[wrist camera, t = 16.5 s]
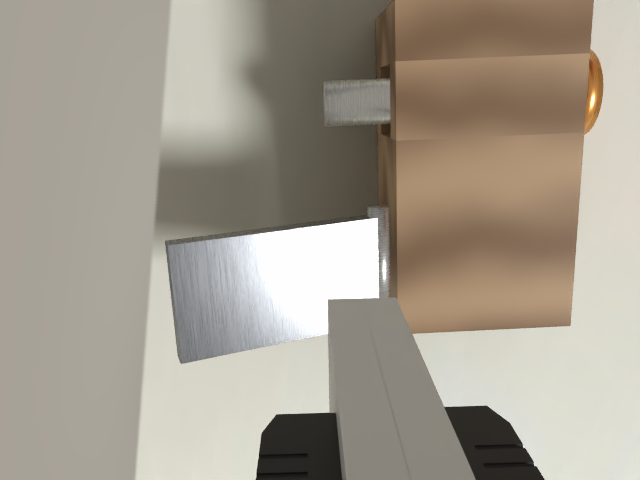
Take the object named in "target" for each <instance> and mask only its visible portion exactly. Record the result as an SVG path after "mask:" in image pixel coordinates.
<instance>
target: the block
mask: <svg viewBox="0 0 640 480" xmlns="http://www.w3.org/2000/svg"><path fill="white" fill-rule="evenodd" d="M593 2H594V0H393V1H392V2H391V3H390V4H389V6H388V7H387V8H386V9H385V10H384V11H383V12H382V13H381V14H380V16H379V17H378V18H377V19H376V20H375V24H376V79H383V78H390V124H377V147H378V205H388V206H390V291H391V297H396V298H397V301H398V303H399V305H400V308H401V310H402V312H403V314H404V317H405V319H406V321H407V324H408V326H409V328H410V330H411V333H412V334H415V333H435V332H455V331H476V330H496V329H516V328H536V327H557V326H570V324H571V310H572V296H573V282H574V268H575V254H576V240H577V226H578V212H579V198H580V184H581V170H582V156H583V142H584V128H585V114H586V100H587V86H588V72H589V58H590V44H591V30H592V16H593Z"/></svg>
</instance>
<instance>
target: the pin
mask: <svg viewBox="0 0 640 480" xmlns="http://www.w3.org/2000/svg"><path fill="white" fill-rule="evenodd" d="M602 96H603V75H602V69H601V65H600V62H599V59H598V57H597V56H596V54H595V53H594V52H593V51H592V50H590V58H589V72H588V86H587V100H586V114H585V128H584V135H585V134H586V133H587V132H589V131H590V129H591V128H592V127H593V125H594V123H595V121H596V119H597V117H598V114H599V111H600V107H601V103H602ZM323 103H324V122H325V127H326V126H349V125H372V124H390V78H383V79H359V80H335V81H323Z"/></svg>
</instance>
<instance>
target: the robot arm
mask: <svg viewBox="0 0 640 480" xmlns="http://www.w3.org/2000/svg"><path fill="white" fill-rule="evenodd" d="M328 349H329V405H330V413H310V414H278V415H276V416H275V417H274V418H273V420H272V421H271V422H270V423H269V425H268V426H267V427H266V428H265V430H264V431H263V432H262V435H261V443H260V451H259V459H258V466H257V478H256V480H544V478H543V476H542V475H541V473H540V471H539V470H538V468H537V467H536V466H534V462H533V460H532V458H531V457H530V455H529V453H528V452H527V450H526V449H525V448H523V444H522V442H521V440H520V439H519V437H518V436H517V434H516V432H515V431H514V429H513V427H512V426H511V424H510V423H509V422H508V421H506V420H505V419H504V418H502V417H501V416H500V415H498V414H497V413H496V412H494V411H493V410H492V409H490V408H489V407H488V406H464V407H444V406H443V403H442V401H441V399H440V397H439V394H438V392H437V390H436V387H435V385H434V383H433V381H432V378H431V376H430V374H429V371H428V369H427V367H426V365H425V362H424V360H423V358H422V355H421V353H420V351H419V349H418V346H417V344H416V342H415V340H414V337H413V335H412V333H411V330H410V328H409V326H408V324H407V321H406V319H405V317H404V314H403V312H402V310H401V308H400V305H399V303H398V301H397V298H396V297H390V298H354V299H328Z"/></svg>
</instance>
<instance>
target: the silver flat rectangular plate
mask: <svg viewBox="0 0 640 480" xmlns="http://www.w3.org/2000/svg"><path fill="white" fill-rule="evenodd" d="M165 245H166V254H167V263H168V272H169V281H170V290H171V299H172V308H173V317H174V326H175V335H176V344H177V353H178V358H179V360H180V363H181V364H183V363H188V362H193V361H197V360H202V359H207V358H212V357H217V356H222V355H227V354H231V353H236V352H241V351H246V350H251V349H256V348H260V347H265V346H270V345H275V344H280V343H285V342H289V341H294V340H299V339H304V338H309V337H314V336H319V335H323V334H328V299H354V298H390V297H391V291H390V206H388V205H371V206H368V207H367V215H365V216H357V217H349V218H341V219H333V220H326V221H318V222H310V223H302V224H294V225H286V226H279V227H271V228H263V229H255V230H247V231H239V232H232V233H224V234H216V235H208V236H200V237H192V238H184V239H177V240H169V241H165Z"/></svg>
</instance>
